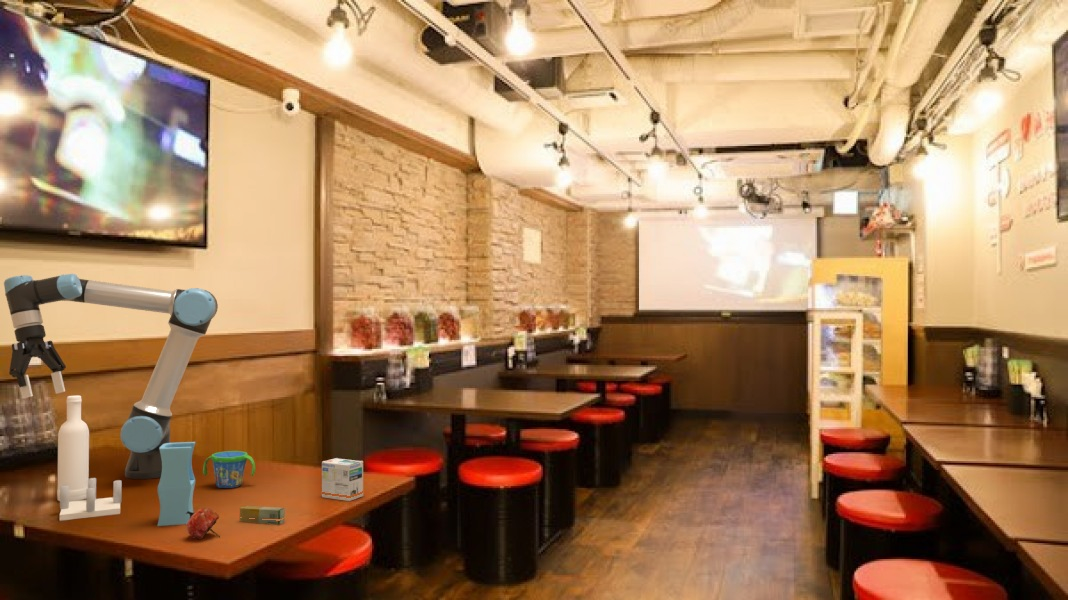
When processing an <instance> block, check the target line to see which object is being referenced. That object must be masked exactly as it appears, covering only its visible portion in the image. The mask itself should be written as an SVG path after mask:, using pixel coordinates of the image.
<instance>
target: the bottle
mask: <svg viewBox="0 0 1068 600" xmlns="http://www.w3.org/2000/svg"><path fill="white" fill-rule="evenodd" d="M82 401H83V399H82V396H81V395H78V394H77V395H68V396H67V397H66V400H65V404H66V421H64V422H63V423H62V424H61V425H60V428H59V430H58V433H57V492H56V495H57V501H58V502H60V486H64V485H69V502H72V501H82V500H86V489H87V488H88V479H90V478H89V477H90V476H89V475H90V474H89V473H90V471H89V465H90V463H89V462H90V461H89V460H90V430H89V427H88V424H87V423H86V422H85V421H84V420H82Z"/></svg>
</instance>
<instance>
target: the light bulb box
mask: <svg viewBox="0 0 1068 600" xmlns="http://www.w3.org/2000/svg"><path fill="white" fill-rule="evenodd" d="M362 491H363V493H362V494H360V495H357V496H354V497H351V498H346V497H339V496H332V495H325V494H322V492H325V493H331V494H339V495H347V496H351V495H353V494H357V493H360V492H362ZM361 497H364V461H363V460H354V459H353V460H352V459H345V458H338V457H336V458H332V459H328V460H323V461H321V498H325V499H333V500H339V501H345V502H351V501H353V500H356V499H359V498H361Z"/></svg>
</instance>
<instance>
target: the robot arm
mask: <svg viewBox="0 0 1068 600" xmlns="http://www.w3.org/2000/svg"><path fill="white" fill-rule="evenodd" d="M3 287H4V295H5V297H6V302H7V306H8V309H9V314H10V317H11V322H12V326H13V328H14V335H15V339H16V341H17V342H16V343H12V344H11V350H12V353H11V358H10V364H9V365H10V366H9V371H8V372H9V373H8V374H9V375H10V376H12V378H16V380H17V384H18V385H17V386H18V387H19V389H20V393H21V399H27V398H31V397H33V396H34V395H33V390H32V385H31V382H30V378H29V374H26V373H27V371H28V370H27V369H28V367H29V365H30V362H31V360H32V358H37V359H40V360H41V361H42V362H43V363H44V364H45V365H46V366H47V367H48V368H49V370H50V371H51V373H50V375H51V379H52V380H51V381H52V384H53V388H54V392H55V395H57V394H61V393H64V392H66V389H65V383H64V377H63V372H62V371H65V369H66V364H65V362H64V361H63V359H62V358H61V356H60V354H59V353H58V352H57V350H56V348H55V345H54V342H53V340H48V341H45V340H44V338H45V337H46V336H47V335H46V334H47V333H46V330H45V326H44V325H43V323H44V321H43V320H44V319H43V318H42V313H41V308H40V305H45V304H51V303H57V302H61V301H64V302H74V303H75V302H76V303H81V304H82V303H83V304H84V303H85V304H93V305H98V306H99V305H100V306H101V305H102V306H107V307H108V306H109V307H117V308H122V309H129V310H130V309H131V310H139V311H145V312H155V313H162V314H167V315H168V314H169V316H170V317H169V320H168V322H167V324H168V325H169V327H170V330H169V334H168V335H167V338H166V339H165V340H166V341H165V342H164V345H163V347H162V350H161V352H160V355H159V356H158V360H157V361H156V365H155V367H154V369H153V371H152V374H151V376H150V379H149V381H148V383H147V386H146V388H145V390H144V393H143V395H142V398H141V400H139V401H137V402H134V404H133V406H132V408H131V410H130V412H129V415H128V418H127V420H126V421H125V422H124V424H123V425H122V426H121V429H120V440H121V443H122V445H123V446H124V447H125V448H127V449H128V450H129V451H130V455H129V458H128V461H127V463H126V467H125V468H124V477H125V478H127V479H131V480H147V479H158V478H161V474H162V459H161V454H160V449H159V448H160V447H161V446H162V445H163V444H165V443H171V419H172V416H173V413H172V411H171V406H172V403H173V401H174V398H175V395H176V393H177V391H178V388H179V386H180V383H181V381H182V379H183V377H184V374H185V372H186V369H187V367H188V364H189V362H190V360H191V357H192V355H193V352H194V349H195V347H196V345H197V342H198V340H199V339H200V338H201V337H204V336H206V333H207V332H208V329H209V327H210V324H211V322H212V319H214V318H215V316H216V314H217V312H218V308H219V307H218V305H219V304H218V301H217V299H216V297H215V295H214V294H213V293H212V292H210V291H209V290H206V289H203V288H198V287H195V288H193V287H192V288H188V289H181V288H176V289H174V290H165V289H157V288H150V287H144V286H134V285H127V284H123V283H122V284H119V283H113V282H106V281H100V280H99V281H97V280H92V279H91V280H90V279H84V278H83V279H82V278H79V277H78V275H77V274H75V273H67V274H66V273H65V274H61V275H56V276H52V277H47V278H42V279H36V280H34V279H33V277H32V276H31V275H25V274H23V275H17V276H16V275H15V276H12V277H9V278H8V277H7V279H5V280H4V282H3Z"/></svg>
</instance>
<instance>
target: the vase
mask: <svg viewBox="0 0 1068 600" xmlns="http://www.w3.org/2000/svg"><path fill="white" fill-rule="evenodd" d="M195 445H196V441H185V442H184V441H181V442H180V441H179V442H170V443H165V444H163V445H162V446H161V447H160V448H159V449H160V454H161V459H162V474H161V477H159V478H160V479H159V483H158V485H157V495H158V498H159V507H160V508H159V509H160V510H159V518H158V521H157V527H165V526H179V525H187V522H188V521H189V519H190V514H188V513H187V512H188V511H189V512H192V513H194V506H193V496H194V490H195V485H196V478H195V475H194V471H193V465H192V459H193V453H194V448H195ZM186 513H187V514H186Z"/></svg>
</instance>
